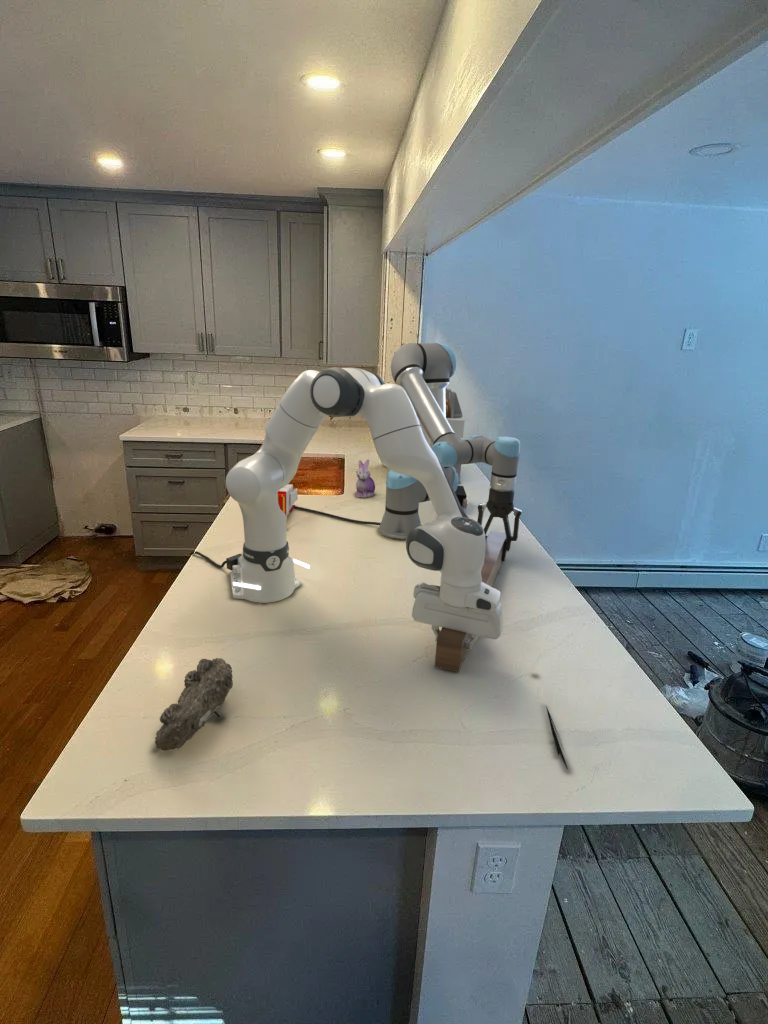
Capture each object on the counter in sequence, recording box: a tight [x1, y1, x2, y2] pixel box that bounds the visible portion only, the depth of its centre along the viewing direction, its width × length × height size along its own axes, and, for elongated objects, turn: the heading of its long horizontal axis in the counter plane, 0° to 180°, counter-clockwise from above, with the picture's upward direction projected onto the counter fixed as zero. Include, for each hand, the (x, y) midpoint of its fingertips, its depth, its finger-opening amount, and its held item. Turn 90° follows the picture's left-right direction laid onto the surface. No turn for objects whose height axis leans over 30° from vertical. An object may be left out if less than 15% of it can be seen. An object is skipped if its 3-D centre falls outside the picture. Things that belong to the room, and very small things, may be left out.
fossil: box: [154, 657, 234, 752], centre depth 107 cm, size 22×10×15 cm
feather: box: [535, 673, 569, 770], centre depth 112 cm, size 2×28×2 cm
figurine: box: [355, 459, 376, 499], centre depth 237 cm, size 9×10×15 cm
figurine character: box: [455, 485, 468, 509], centre depth 228 cm, size 7×8×15 cm
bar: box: [434, 530, 506, 673], centre depth 154 cm, size 69×6×7 cm, turn 160°
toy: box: [277, 483, 299, 518], centre depth 210 cm, size 12×13×30 cm
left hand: (454, 644), depth 129 cm, fingers closed on bar, 5 cm apart
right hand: (493, 557), depth 181 cm, fingers closed on bar, 5 cm apart
